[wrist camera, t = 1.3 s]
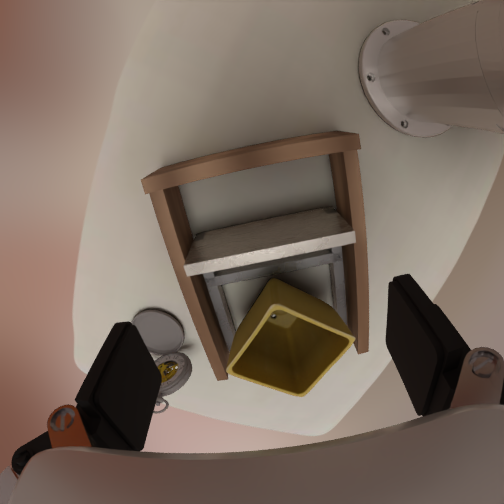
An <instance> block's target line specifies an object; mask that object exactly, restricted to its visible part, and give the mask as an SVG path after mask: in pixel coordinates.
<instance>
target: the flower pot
mask: <svg viewBox="0 0 504 504" xmlns="http://www.w3.org/2000/svg"><path fill="white" fill-rule="evenodd" d="M273 314H275V315H276V317H275V318H272V317H271V315H273ZM355 339H356V338H355V337H354V335H353V334H352V332H351V331H350V330H349V328H348V327H347V325H346V324H345V323H344V321H343V320H342V318H341V317H340V316H339V314H338V313H337V312H336V311H335V310H334V309H333V308H332V307H331V306H330V305H328V304H327V303H325V302H324V301H322V300H320V299H318V298H316V297H314V296H312V295H309V294H307V293H305V292H303V291H301V290H299V289H297V288H295V287H293V286H291V285H289V284H287V283H285V282H283V281H281V280H279V279H276V278H272V279H270V280H269V281H268V283H267V284H266V286H265V288H264V289H263V291H262V292H261V294H260V295H259V297H258V299H257V300H256V302H255V303H254V305H253V306H252V308H251V309H250V311H249V312H248V314H247V315H246V316H245V318H244V319H243V321H242V322H241V324H240V325H239V327H238V329H237V331H236V333H235V335H234V338H233V342H232V346H231V350H230V354H229V359H228V363H227V368H226V372H227V373H228V374H231V375H233V376H235V377H238V378H241V379H244V380H247V381H250V382H253V383H256V384H259V385H262V386H265V387H268V388H271V389H275V390H277V391H280V392H284V393H287V394H290V395H293V396H299V397H303V396H305V395H306V394H307V393H308V392H309V391H310V390H311V389H312V388H313V387H314V386H315V385H316V384H317V382H318V381H319V380H320V379H321V378H322V377H323V376H324V375H325V374H326V372H327V371H328V370H329V369H330V368H331V367H332V366H333V365H334V364H335V363H336V362H337V361H338V360H339V359H340V358H341V357H342V356H343V354H344V353H345V352H346V351H347V350H348V349H349V348H350V347H351V345H352V344H353V342H354V341H355Z"/></svg>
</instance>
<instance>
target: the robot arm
mask: <svg viewBox="0 0 504 504" xmlns="http://www.w3.org/2000/svg"><path fill="white" fill-rule="evenodd" d="M382 32H383V33H384V34H383V33H382ZM359 74H360V80H361V84H362V87H363V90H364V93H365V95H366V97H367V99H368V100H369V102H370V104H371V106H372V107H373V108H374V110H375V111H376V113H377V114H378V115H379V116H380V117H381V118H382V119H383V120H384V121H385V122H386V123H387V124H389V125H390V126H392V127H393V128H394V129H396V130H398V131H400V132H402V133H404V134H408V135H412V136H416V137H434V136H437V135H440V134H442V133H444V132H445V131H447V130H449V129H450V128H451V127H452V126H460V127H467V128H474V129H480V130H486V131H492V132H497V133H502V134H504V0H481V1H478V2H475V3H472V4H470V5H467V6H464V7H461V8H458V9H456V10H453V11H450V12H448V13H445V14H443V15H440V16H438V17H435V18H433V19H430V20H428V21H426V22H423V23H421V24H420V23H418V22H415V21H410V20H393V21H389V22H386V23H384V24H382V25H380V26H379V27H377V28H376V29H375V30H373V31H372V32H371V33H370V34H369V36H368V37H367V38H366V39H365V42H364V44H363V46H362V48H361V52H360V57H359ZM367 76H368V77H369V78H370V80H368V79H367ZM401 122H402V126H401ZM386 345H387V348H388V350H389V352H390V355H391V357H392V359H393V361H394V363H395V365H396V367H397V370H398V372H399V374H400V376H401V379H402V381H403V383H404V385H405V388H406V390H407V392H408V394H409V397H410V399H411V401H412V404H413V406H414V408H415V411H416V413H417V415H419V416H420V415H422V416H423V417H420V418H417V419H414V420H411V421H407V422H404V423H401V424H397V425H393V426H390V427H386V428H382V429H378V430H374V431H370V432H366V433H362V434H358V435H354V436H350V437H344V438H340V439H335V440H330V441H325V442H319V443H313V444H307V445H300V446H293V447H285V448H278V449H268V450H258V451H245V452H229V453H190V454H189V453H155V452H140V451H141V450H142V449H143V448H144V444H145V441H146V437H147V433H148V429H149V425H150V422H151V418H152V414H153V411H154V407H155V404H156V400H157V397H158V393H159V390H160V386H161V383H162V376H161V373H160V371H159V369H158V367H157V366H156V364H155V362H154V360H153V358H152V356H151V354H150V352H149V351H148V349H147V347H146V345H145V343H144V341H143V339H142V337H141V335H140V333H139V331H138V329H137V327H136V326H135V325H132V323H131V322H120V323H115V324H114V326H113V328H112V329H111V331H110V333H109V335H108V337H107V338H106V340H105V342H104V344H103V346H102V348H101V350H100V351H99V353H98V355H97V357H96V359H95V361H94V363H93V365H92V366H91V368H90V370H89V372H88V374H87V376H86V378H85V380H84V382H83V384H82V386H81V388H80V390H79V392H78V394H77V396H76V398H75V401H76V402H77V403H78V404H77V406H76V407H74V406H73V405H69V404H68V405H63V406H60V407H58V408H57V409H55V410H54V411H53V412H52V413H51V415H50V416H49V418H48V421H47V428H48V431H47V432H45V433H43V434H42V435H40V436H38V437H37V438H35V439H33V440H32V441H30V442H28V443H27V444H25V445H23V446H21V447H20V448H19V449H17V451H16V452H15V453H14V455H13V457H12V468H11V467H10V466H8V467H7V468H6V469H5V470H4V471H3V472H2V473H1V474H0V504H504V360H503V357H502V356H501V355H500V354H499V353H498V352H497V351H495V350H494V349H490V348H487V347H479V348H475V349H473V350H471V349H470V348H469V347H468V345H467V344H466V342H465V341H464V340H463V338H462V337H461V336H460V334H459V333H458V331H457V330H456V329H455V327H454V326H453V325H452V323H451V322H450V321H449V319H448V318H447V317H446V315H445V314H444V313H443V312H442V310H441V309H440V308H439V306H437V305H436V304H433V303H432V301H431V300H430V299H429V298H428V296H427V295H426V294H425V292H424V291H423V290H422V289H421V287H420V286H419V285H418V284H417V283H416V281H415V280H414V279H413V278H412V276H411V275H410V274H405V275H400V276H396V277H394V278H393V281H392V282H389V288H388V312H387V328H386Z"/></svg>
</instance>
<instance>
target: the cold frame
mask: <svg viewBox="0 0 504 504" xmlns="http://www.w3.org/2000/svg"><path fill="white" fill-rule="evenodd" d="M358 149H361V145H360V138H359V134H356V133H349V132H343V131H331V132H325V133H318V134H311V135H305V136H299V137H293V138H288V139H282V140H277V141H272V142H266V143H261V144H256V145H252V146H247V147H242V148H238V149H233V150H229V151H224V152H220V153H216V154H212V155H207V156H203V157H199V158H195V159H192V160H188V161H184V162H180V163H176V164H173V165H169V166H166V167H162V168H160V169H158V170H156V171H155V172H153V173H151V174H150V175H148V176H146V177H145V178H143V179H142V180H141V182H142V185H143V189H144V192H145V194H148V193H149V194H150V197H151V200H152V204H153V207H154V210H155V213H156V217H157V220H158V223H159V226H160V229H161V232H162V235H163V238H164V241H165V244H166V247H167V250H168V253H169V256H170V259H171V262H172V265H173V268H174V271H175V274H176V276H177V279H178V282H179V285H180V288H181V290H182V293H183V296H184V299H185V301H186V304H187V307H188V309H189V312H190V314H191V317H192V320H193V322H194V325H195V327H196V330H197V332H198V335H199V337H200V340H201V342H202V345H203V347H204V350H205V352H206V355H207V357H208V360H209V362H210V364H211V367H212V369H213V371H214V374H215V376H216V378H217V381H219V380H227V379H228V373H227V372H226V368H227V363H228V359H229V350H228V347H227V344H226V341H225V338H224V336H223V333H222V330H221V327H220V324H219V321H218V318H217V315H216V312H215V309H214V306H213V303H212V300H211V297H210V294H209V291H208V288H207V285H206V281H205V278H204V275H203V274H198V275H193V276H188V277H187V275H186V272H185V269H184V266H183V265H184V263H185V260H186V258H187V255H188V253H189V250H190V248H191V246H192V243H193V241H194V239H193V236H192V232H191V229H190V226H189V222H188V219H187V215H186V212H185V208H184V205H183V201H182V198H181V194H180V191H179V187H178V185H182V184H185V183H189V182H193V181H197V180H201V179H206V178H210V177H214V176H218V175H223V174H227V173H231V172H236V171H241V170H245V169H250V168H255V167H260V166H264V165H269V164H275V163H280V162H285V161H290V160H296V159H301V158H307V157H313V156H319V155H325V154H329V158H330V164H331V171H332V177H333V184H334V191H335V199H336V207H337V212H338V213H339V214H340V215H341V216H342V217H343V218H344V219H345V221H346V222H347V223H348V224H349V225H350V226H351V227H352V228H353V229H354V230H355V238H356V243H352V244H347V245H342V256H343V268H344V280H345V294H346V311H347V327H348V328H349V330H350V331H351V332H352V334H353V335H354V337H355V338H356V339H355V341H354V342H353V343H354V345H355V348H356V350H357V353H358V354H361V353H365V352H368V348H369V283H368V257H367V240H366V226H365V214H364V203H363V193H362V184H361V176H360V168H359V160H358V153H357V150H358Z"/></svg>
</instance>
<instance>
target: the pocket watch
mask: <svg viewBox="0 0 504 504" xmlns="http://www.w3.org/2000/svg"><path fill="white" fill-rule="evenodd" d="M132 325H135V326H136V327H137V329H138V331H139V333H140V335H141V337H142V339H143V341H144V343H145V345H146V347H147V349H148V351H149V352H151V353H154V354H159V355H162V357H160V358H158V359H157V360H155V361H154V362H155V364H156V366H157V367H158V369H159V371H160V373H161V376H162V383H161V386H160V390H159V393H158V397H157V400H156V405H157V406H159V405H160V403H162V402H163V401H164V402H165V403H166V407H165V408H164V409H163V410H161V411H158V412H155V411H153V413H161V412H163V411H165V410H166V409H167V408H168V405H169V404H168V402H167V401H166V400H164V399H163V398H162V397H163V396H167V395H170V394H172V393H174V392H176V391H177V390H179V389H180V388H181V387H182V386H183V385H184V384H185V383H186V382H187V381H188V379H189V377H190V375H191V372H192V364H191V361H190V359H189V357H188V356H186V355H185V354H184V353H180V352H177V351H178V350H179V349H180V347H181V346H182V344H183V341H184V332H183V328H182V327H181V325H180V323H179V322H178V321H177V320H176V319H175V318H173V317H172V316H171V315H169V314H167V313H165V312H162V311H158V310H146V311H142V312H140V313H138V314H137V315H136V316H135V317H134V319H133V321H132ZM171 366H172V367H171ZM176 366H178V368H177V369H175V367H176ZM169 367H170V368H169ZM171 368H173V370H172V369H171ZM165 370H166V371H165ZM175 370H176V371H175ZM169 371H170V372H169ZM167 372H169V373H167Z"/></svg>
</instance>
